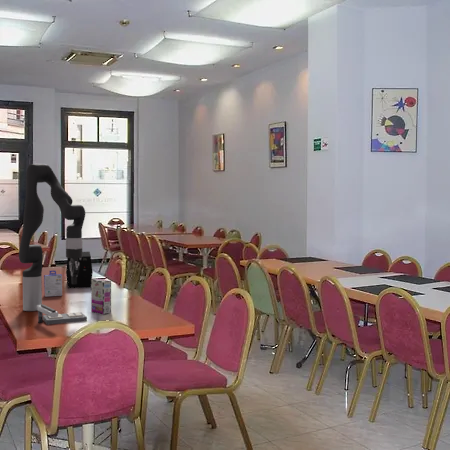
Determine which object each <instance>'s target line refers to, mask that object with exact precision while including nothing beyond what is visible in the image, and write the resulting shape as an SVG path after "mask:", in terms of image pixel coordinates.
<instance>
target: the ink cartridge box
mask: <svg viewBox="0 0 450 450" xmlns="http://www.w3.org/2000/svg"><path fill="white" fill-rule="evenodd" d="M43 280H44V281H43V282H44V283H43V284H44V287H43V288H44V297H60V296H63V274H60V273H57V271H56V270H49V274H45V275H43Z"/></svg>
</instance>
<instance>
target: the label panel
mask: <svg viewBox="0 0 450 450" xmlns="http://www.w3.org/2000/svg"><path fill="white" fill-rule="evenodd" d="M43 321H44V323H45V324H46V325H47V326H48V325H58V324H59V325H60V324H71V323H82V322H87V321H88V317H87V316H86V315H85V314H84V313H83V312H79V311H78V312H69V313H68V312H66V313H58V317H50V316H48V315H46V314H43Z"/></svg>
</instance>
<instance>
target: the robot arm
mask: <svg viewBox="0 0 450 450" xmlns="http://www.w3.org/2000/svg"><path fill="white" fill-rule="evenodd" d="M25 179H26V180H25V202H24V209H23V210H24V211H23V222H22V223H23V224H22V231H21V238H20V244H19V249H18V260H19V262H20V263H22V264H31V266H30V267H28V268H26V269H24V270H23V271H22V311H24V312H25V311H26V312H36V311H37V312H38V310H37V305H41V304H43V292H42V291H43V286H42V283H43V281H42V278H43V277H42V273H43V257H44V256H43V247H42V246H41V244H31V240H32V239H33V238H32V237H33V236H34V235H35V233H36V232H37V231H38V229H39V228H40V227H41V225H42V223H43V221H44V212H45V209H44V205H43V203H42V201H41V199H40V198H39V194H38V184H39V183H46V184H47V185H49V187H50V197H51V199H52V200H53V201H54V202H55V204H56V205H57V206H58V208H59V210H60V212H61V213H60V214H61V216H62V217H63V218H64V219H66V220H68V221H72V222H73V223H72V224H69V225H67V226H66V229H65V230H66V231H65V232H66V234H65V235H66V236H65V237H66V239H65V257H66V259H67V258H71V259H70V261H69V267H70V274H71V276H72V284H77V276H78V274H79V268H80V266H79V262H78V258H81V257H82V252H83V233H82V232H83V231H82V230H83V226H84V224H85V223H84V222H85V219H86V218H85V217H86V210H85V207H84V206H83V205H81V204H73V198H72V197H71V195H70V194H69V193H68V192H67V191H66V190H65V189H64V188H63V186H62V185H61V183H60V181H59V179H58V177H57V176H56V175H55V172H54V170H53V169H52V168H51V166H50V165H49V164H46V163H31V164H29V165H28V166H27V168H26V175H25Z"/></svg>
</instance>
